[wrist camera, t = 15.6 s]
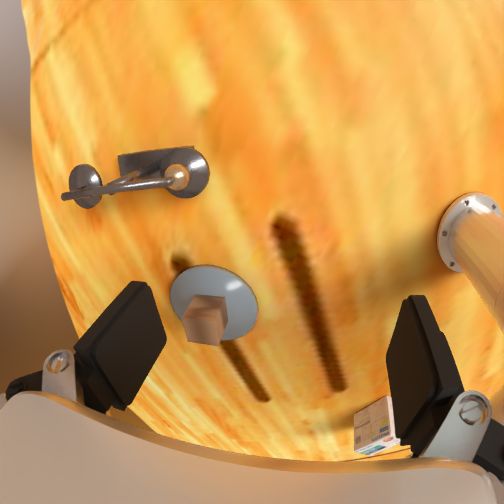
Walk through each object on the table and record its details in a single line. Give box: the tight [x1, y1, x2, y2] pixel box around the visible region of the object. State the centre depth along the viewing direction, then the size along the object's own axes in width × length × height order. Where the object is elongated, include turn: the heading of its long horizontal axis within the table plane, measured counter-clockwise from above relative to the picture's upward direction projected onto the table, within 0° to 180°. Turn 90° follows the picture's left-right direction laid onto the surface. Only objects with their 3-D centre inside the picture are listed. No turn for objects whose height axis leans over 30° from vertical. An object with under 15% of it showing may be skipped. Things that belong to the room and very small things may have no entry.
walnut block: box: [182, 294, 228, 346], centre depth 43 cm, size 5×5×6 cm
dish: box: [170, 265, 258, 340], centre depth 46 cm, size 15×15×1 cm
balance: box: [61, 146, 210, 209], centre depth 32 cm, size 20×6×13 cm, turn 92°
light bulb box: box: [354, 395, 400, 456], centre depth 50 cm, size 11×7×11 cm, turn 148°
